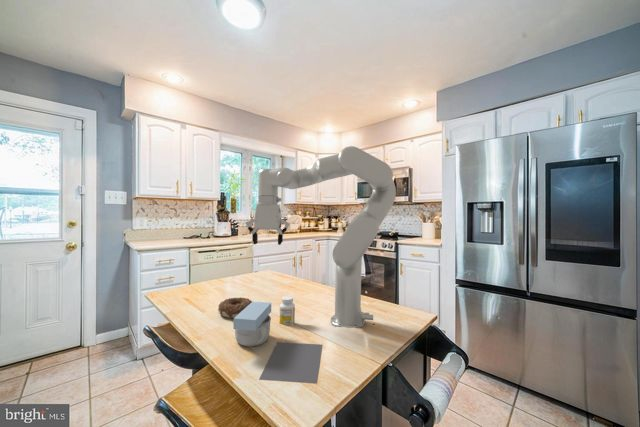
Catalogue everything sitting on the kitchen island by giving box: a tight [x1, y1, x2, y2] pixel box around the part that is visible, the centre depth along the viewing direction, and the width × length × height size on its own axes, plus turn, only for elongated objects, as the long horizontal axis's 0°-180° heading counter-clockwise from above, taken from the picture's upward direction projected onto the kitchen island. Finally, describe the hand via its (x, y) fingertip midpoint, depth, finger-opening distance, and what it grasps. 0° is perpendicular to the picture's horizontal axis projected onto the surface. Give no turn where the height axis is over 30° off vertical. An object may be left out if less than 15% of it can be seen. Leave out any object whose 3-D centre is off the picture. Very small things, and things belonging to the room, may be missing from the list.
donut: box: [217, 297, 253, 319], centre depth 106 cm, size 14×14×5 cm
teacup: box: [234, 314, 272, 347], centre depth 81 cm, size 14×11×8 cm
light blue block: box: [232, 301, 272, 331], centre depth 81 cm, size 6×14×3 cm, turn 172°
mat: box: [259, 341, 323, 384], centre depth 72 cm, size 14×18×1 cm
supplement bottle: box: [279, 295, 296, 326], centre depth 96 cm, size 5×5×10 cm
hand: (267, 244), depth 104 cm, fingers open, 9 cm apart
